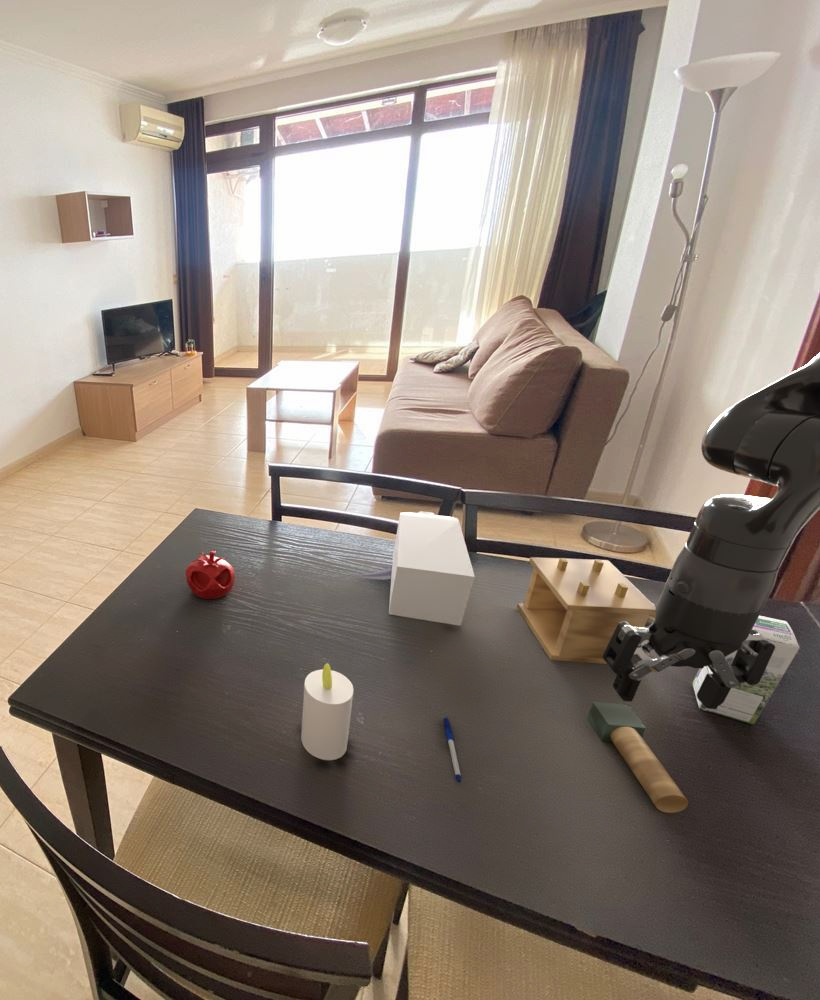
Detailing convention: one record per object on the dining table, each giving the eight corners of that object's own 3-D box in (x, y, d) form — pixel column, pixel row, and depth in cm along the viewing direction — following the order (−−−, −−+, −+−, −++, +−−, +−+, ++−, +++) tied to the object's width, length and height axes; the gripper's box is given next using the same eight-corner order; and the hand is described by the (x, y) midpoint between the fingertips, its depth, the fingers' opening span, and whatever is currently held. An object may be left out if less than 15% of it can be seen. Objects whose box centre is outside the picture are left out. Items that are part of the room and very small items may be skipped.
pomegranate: (186, 577, 116) (184, 540, 112) (232, 575, 116) (232, 538, 112) (187, 605, 108) (184, 566, 104) (237, 603, 107) (236, 564, 103)
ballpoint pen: (441, 719, 79) (442, 714, 78) (447, 720, 79) (449, 715, 78) (456, 782, 70) (457, 777, 69) (464, 784, 70) (465, 779, 69)
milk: (460, 625, 96) (448, 541, 117) (474, 576, 90) (458, 496, 110) (388, 614, 100) (388, 534, 121) (397, 566, 94) (395, 490, 115)
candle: (356, 738, 77) (366, 657, 70) (332, 768, 73) (341, 685, 66) (316, 715, 81) (322, 637, 74) (292, 742, 77) (296, 662, 70)
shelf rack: (590, 611, 97) (611, 551, 92) (636, 666, 85) (663, 600, 79) (516, 607, 100) (532, 548, 94) (550, 659, 87) (571, 595, 82)
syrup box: (744, 698, 78) (787, 618, 72) (754, 727, 74) (802, 644, 67) (691, 684, 81) (728, 606, 75) (698, 710, 77) (738, 630, 70)
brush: (689, 815, 64) (698, 797, 62) (645, 810, 65) (654, 792, 63) (622, 721, 76) (629, 704, 75) (586, 718, 77) (592, 701, 76)
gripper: (766, 574, 60) (711, 683, 67) (619, 567, 63) (580, 672, 70) (827, 616, 53) (758, 732, 60) (659, 606, 56) (612, 717, 63)
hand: (663, 699), depth 65 cm, fingers open, 8 cm apart
